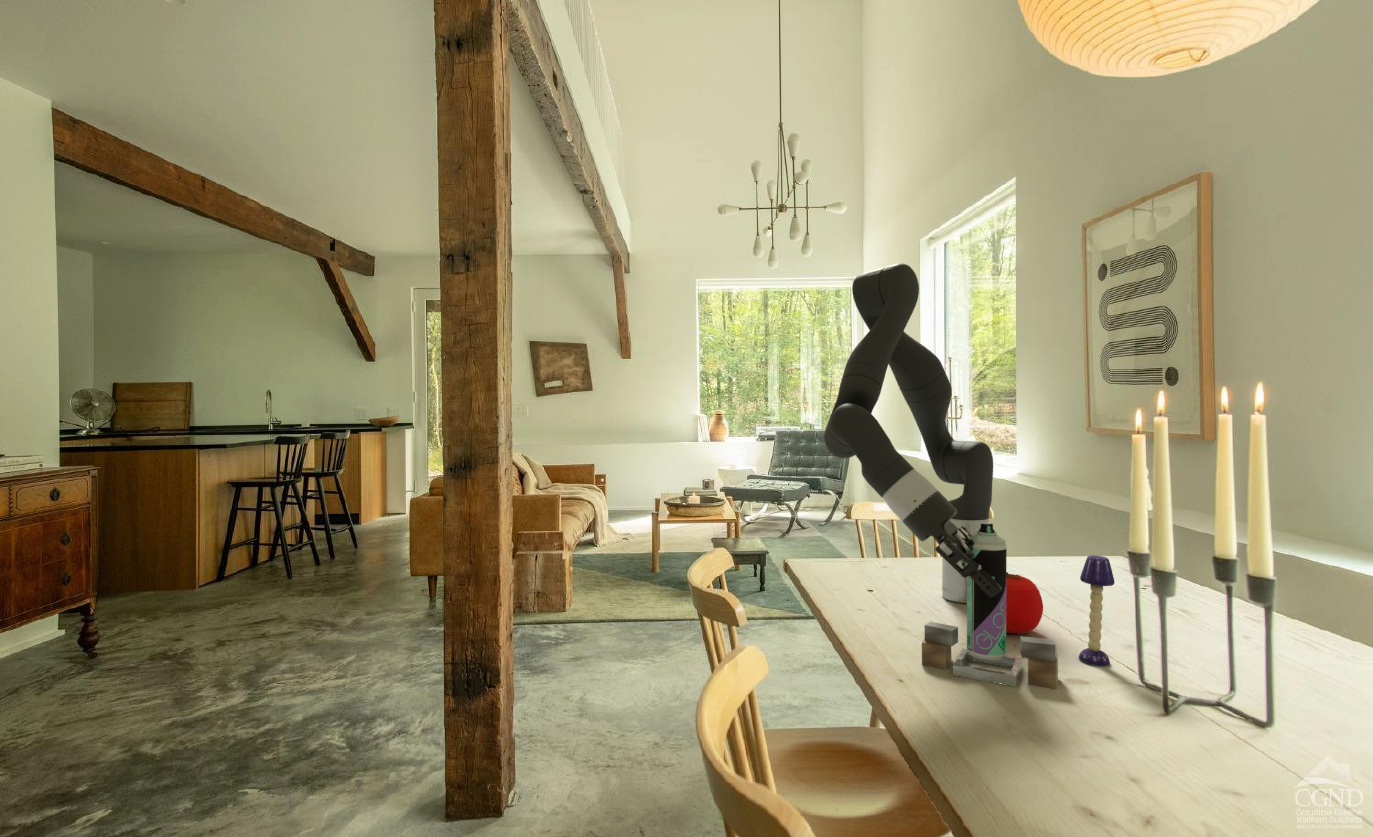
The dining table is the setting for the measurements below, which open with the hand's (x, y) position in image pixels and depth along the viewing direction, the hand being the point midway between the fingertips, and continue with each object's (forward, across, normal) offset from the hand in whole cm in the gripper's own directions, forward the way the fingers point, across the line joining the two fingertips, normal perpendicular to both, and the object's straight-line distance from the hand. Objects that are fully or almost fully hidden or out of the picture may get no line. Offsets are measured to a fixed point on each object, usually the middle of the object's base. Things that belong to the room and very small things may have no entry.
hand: (999, 588), depth 104 cm
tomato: (+8, +23, +10) cm, 26 cm away
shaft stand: (+8, 0, +10) cm, 13 cm away
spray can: (+6, 0, +9) cm, 11 cm away
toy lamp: (+18, +13, 0) cm, 22 cm away
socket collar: (+8, 0, +10) cm, 13 cm away
